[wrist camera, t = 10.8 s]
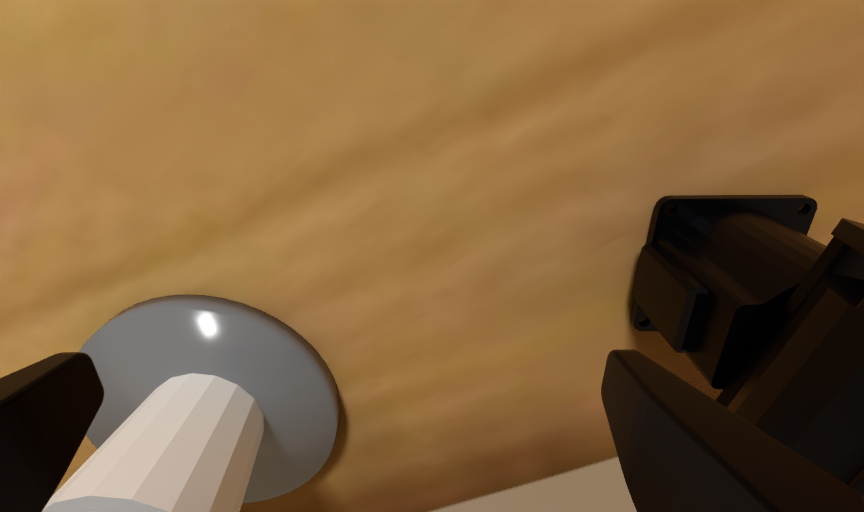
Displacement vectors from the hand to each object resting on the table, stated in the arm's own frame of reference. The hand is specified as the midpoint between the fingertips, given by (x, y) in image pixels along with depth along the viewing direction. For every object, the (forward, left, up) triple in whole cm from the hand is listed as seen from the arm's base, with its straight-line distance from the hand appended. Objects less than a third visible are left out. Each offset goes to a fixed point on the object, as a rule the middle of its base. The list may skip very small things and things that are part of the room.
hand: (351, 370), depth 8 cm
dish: (+10, +12, -12) cm, 20 cm away
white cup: (+10, +12, -11) cm, 19 cm away
